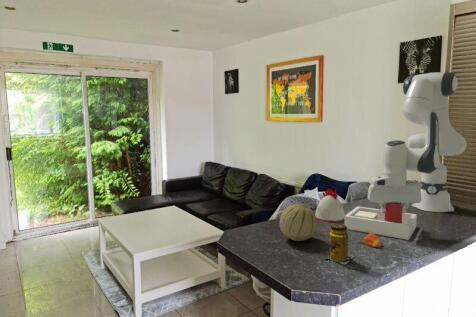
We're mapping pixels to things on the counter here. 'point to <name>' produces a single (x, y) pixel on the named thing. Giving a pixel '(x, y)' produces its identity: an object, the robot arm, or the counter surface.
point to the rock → (372, 240)
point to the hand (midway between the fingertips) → (393, 212)
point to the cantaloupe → (298, 222)
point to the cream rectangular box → (367, 215)
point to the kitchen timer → (330, 208)
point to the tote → (381, 224)
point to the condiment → (339, 244)
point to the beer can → (393, 212)
